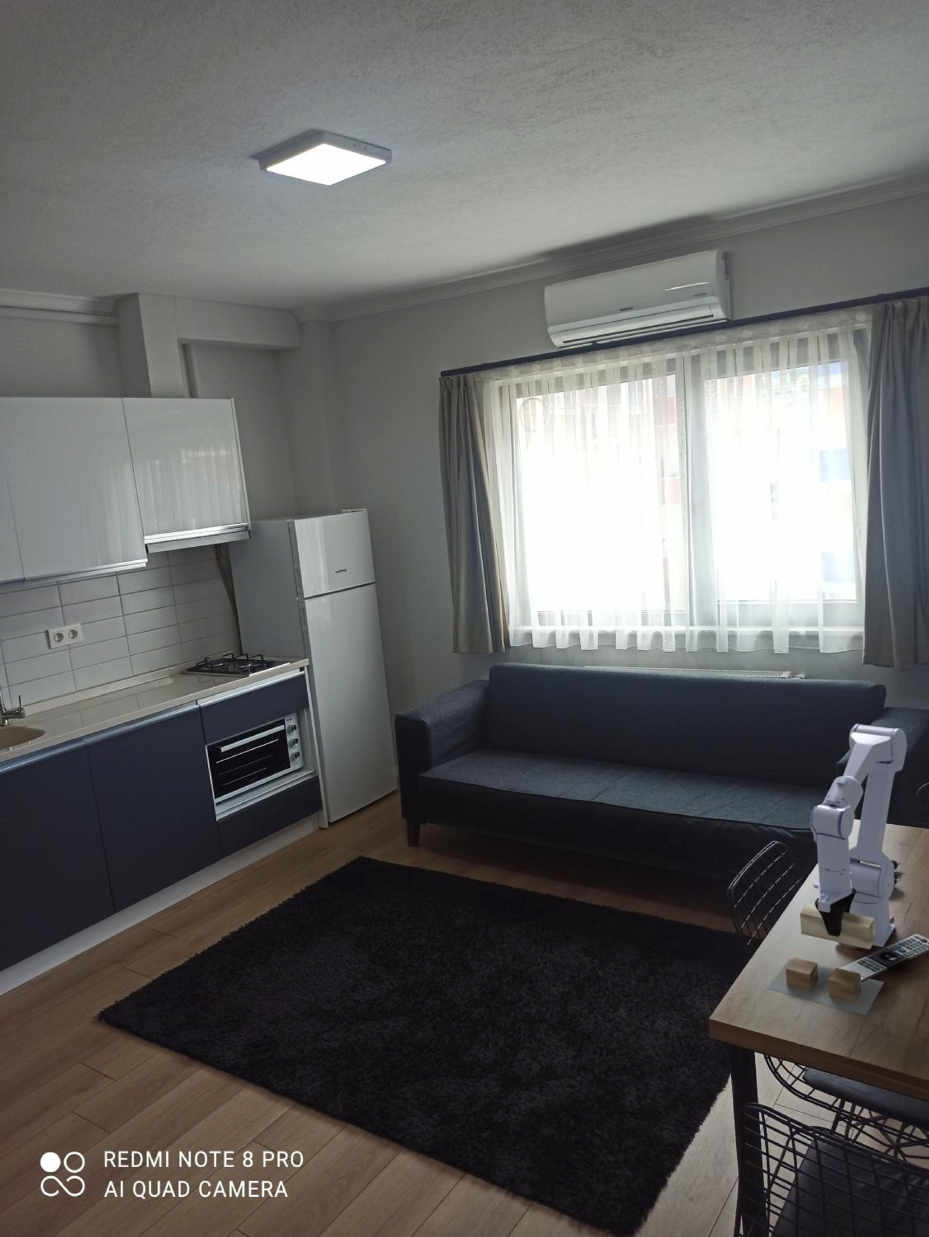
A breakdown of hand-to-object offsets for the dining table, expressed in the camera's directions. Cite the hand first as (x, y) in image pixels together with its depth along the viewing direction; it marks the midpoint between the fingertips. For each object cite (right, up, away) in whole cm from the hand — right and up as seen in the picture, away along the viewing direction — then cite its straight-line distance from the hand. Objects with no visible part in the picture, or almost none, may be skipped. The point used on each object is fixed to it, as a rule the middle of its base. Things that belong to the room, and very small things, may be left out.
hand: (837, 929), depth 181 cm
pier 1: (-8, -9, -4) cm, 13 cm away
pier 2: (-2, -9, -9) cm, 13 cm away
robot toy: (+22, 0, +34) cm, 40 cm away
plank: (0, -1, 0) cm, 2 cm away
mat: (-4, -9, -5) cm, 11 cm away
